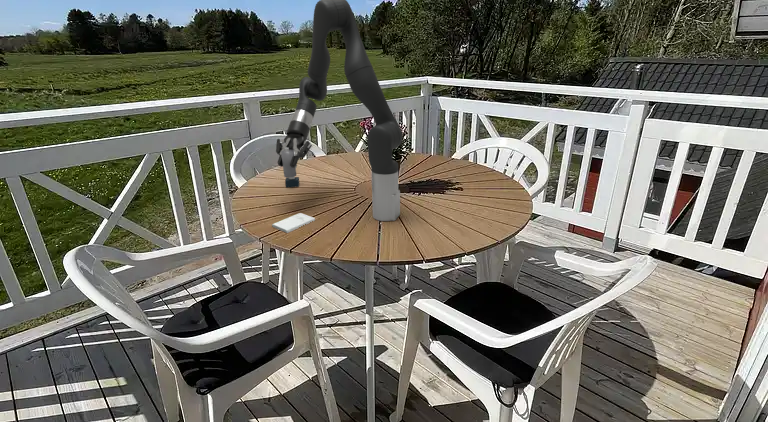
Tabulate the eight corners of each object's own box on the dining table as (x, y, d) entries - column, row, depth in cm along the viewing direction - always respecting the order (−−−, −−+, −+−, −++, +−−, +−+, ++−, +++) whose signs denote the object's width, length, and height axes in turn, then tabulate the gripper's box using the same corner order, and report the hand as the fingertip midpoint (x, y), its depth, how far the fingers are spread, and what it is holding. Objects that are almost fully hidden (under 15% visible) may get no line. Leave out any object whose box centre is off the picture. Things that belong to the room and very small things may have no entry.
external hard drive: (272, 228, 136) (300, 216, 145) (287, 234, 131) (315, 221, 140) (271, 223, 135) (299, 212, 144) (286, 230, 130) (314, 217, 139)
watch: (299, 182, 177) (297, 158, 173) (298, 188, 170) (295, 163, 166) (287, 182, 177) (284, 159, 172) (285, 189, 169) (282, 164, 165)
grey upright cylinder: (298, 174, 144) (295, 146, 140) (292, 177, 140) (288, 149, 136) (288, 173, 145) (285, 146, 141) (281, 176, 141) (278, 149, 137)
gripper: (278, 118, 144) (263, 159, 138) (313, 120, 139) (298, 162, 134) (288, 130, 150) (274, 169, 145) (321, 132, 146) (308, 173, 140)
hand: (286, 166), depth 139 cm, fingers closed on grey upright cylinder, 4 cm apart
